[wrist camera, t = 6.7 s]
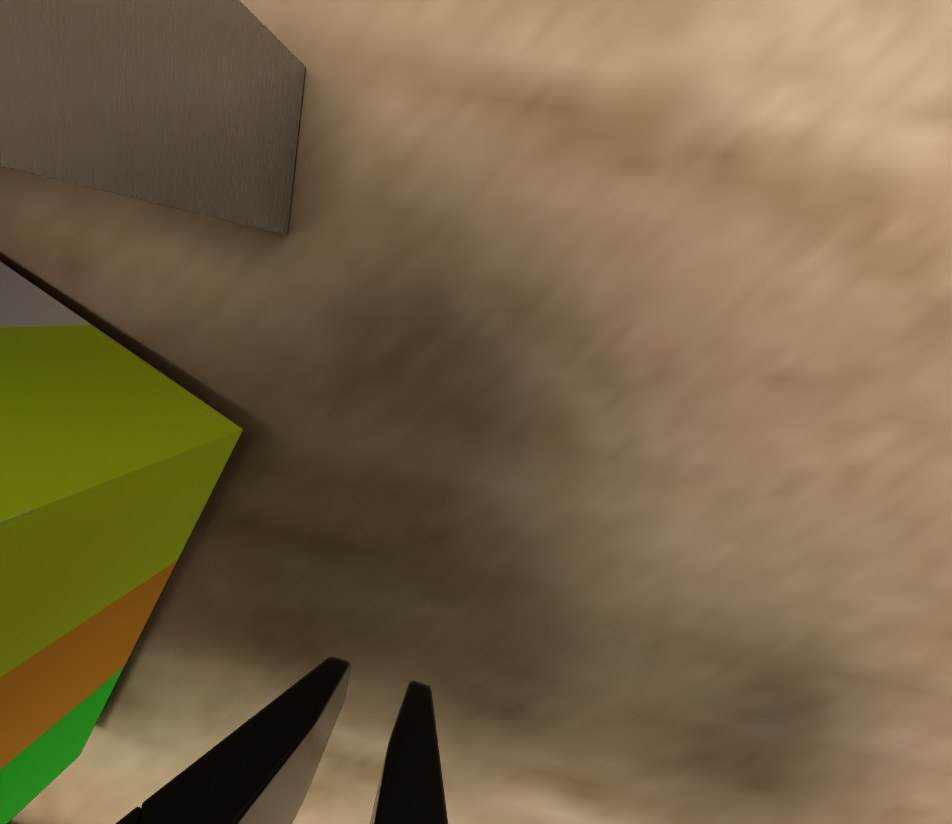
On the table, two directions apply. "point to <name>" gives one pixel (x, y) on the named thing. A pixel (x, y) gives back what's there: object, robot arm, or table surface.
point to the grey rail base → (153, 103)
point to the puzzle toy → (83, 521)
